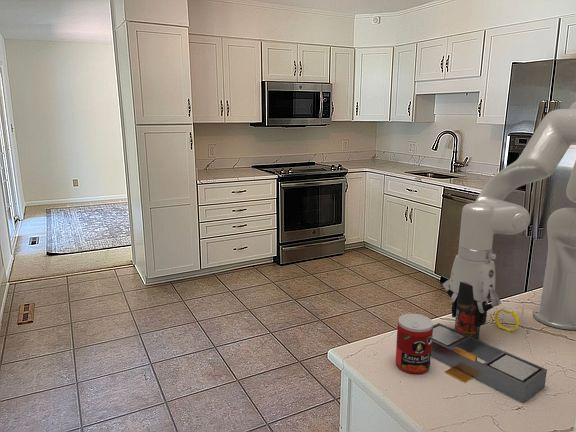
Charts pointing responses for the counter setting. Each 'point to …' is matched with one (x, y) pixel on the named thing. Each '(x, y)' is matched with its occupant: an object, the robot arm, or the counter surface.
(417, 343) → the canned food
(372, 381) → the counter surface
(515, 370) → the rack
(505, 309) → the watch
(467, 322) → the deodorant
